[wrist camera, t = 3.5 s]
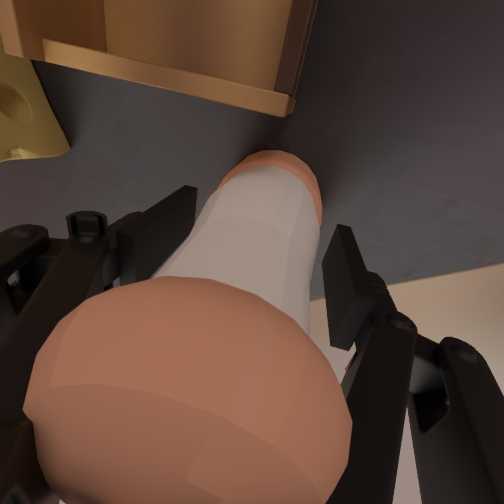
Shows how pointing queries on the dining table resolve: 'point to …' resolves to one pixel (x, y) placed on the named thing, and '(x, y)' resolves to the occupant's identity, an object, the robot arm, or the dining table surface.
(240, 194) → the salt shaker
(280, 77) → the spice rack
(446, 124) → the dining table surface
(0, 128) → the cheese
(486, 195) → the dining table surface
